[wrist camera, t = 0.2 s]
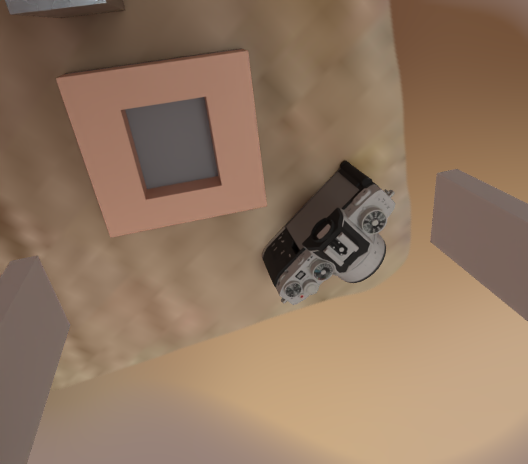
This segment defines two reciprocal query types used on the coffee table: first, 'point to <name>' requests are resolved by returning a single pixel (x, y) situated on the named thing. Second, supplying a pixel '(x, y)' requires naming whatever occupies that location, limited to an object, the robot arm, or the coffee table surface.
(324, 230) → the camera
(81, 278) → the coffee table surface
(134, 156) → the pink square frame
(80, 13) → the grey wood-topped pillar
